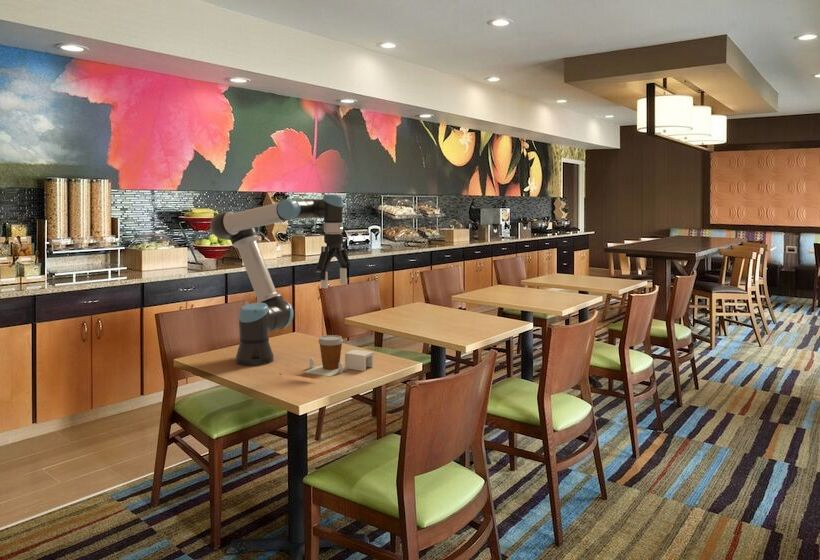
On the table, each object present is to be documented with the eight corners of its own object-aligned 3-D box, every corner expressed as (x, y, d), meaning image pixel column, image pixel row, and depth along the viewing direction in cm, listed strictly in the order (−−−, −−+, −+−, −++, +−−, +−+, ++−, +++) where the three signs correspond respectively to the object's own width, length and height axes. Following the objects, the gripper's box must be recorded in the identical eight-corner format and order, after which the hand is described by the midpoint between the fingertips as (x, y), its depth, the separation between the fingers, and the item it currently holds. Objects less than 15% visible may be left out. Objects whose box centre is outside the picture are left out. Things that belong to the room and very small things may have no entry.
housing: (345, 368, 245) (345, 353, 245) (354, 364, 251) (354, 349, 250) (364, 371, 241) (364, 355, 241) (373, 367, 247) (373, 352, 246)
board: (300, 375, 240) (300, 361, 240) (329, 363, 257) (329, 351, 256) (347, 382, 231) (347, 369, 230) (373, 370, 248) (373, 357, 247)
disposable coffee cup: (339, 371, 240) (338, 341, 238) (315, 370, 242) (314, 339, 240) (346, 365, 249) (346, 335, 247) (323, 363, 251) (323, 334, 249)
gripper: (323, 235, 239) (323, 290, 242) (358, 232, 261) (358, 282, 264) (307, 234, 242) (307, 289, 245) (342, 231, 264) (343, 281, 267)
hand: (334, 286), depth 255 cm, fingers open, 13 cm apart
